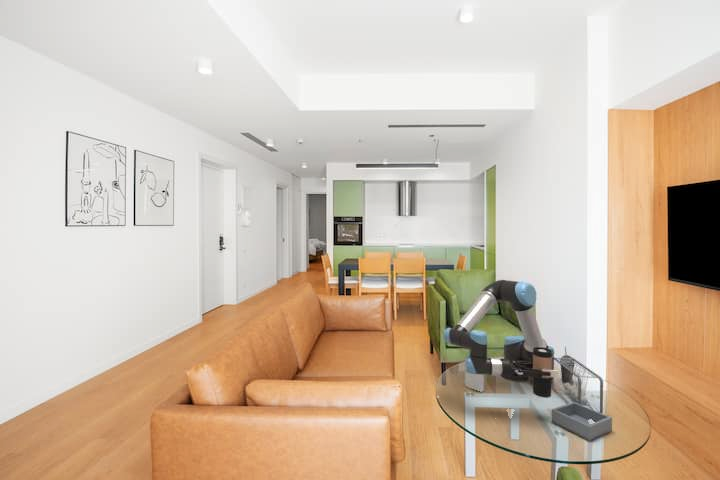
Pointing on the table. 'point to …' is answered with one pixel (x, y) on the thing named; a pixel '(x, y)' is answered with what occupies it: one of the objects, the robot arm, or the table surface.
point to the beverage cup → (565, 368)
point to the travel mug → (542, 362)
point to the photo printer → (474, 381)
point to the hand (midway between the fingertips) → (554, 370)
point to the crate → (581, 421)
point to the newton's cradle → (571, 388)
